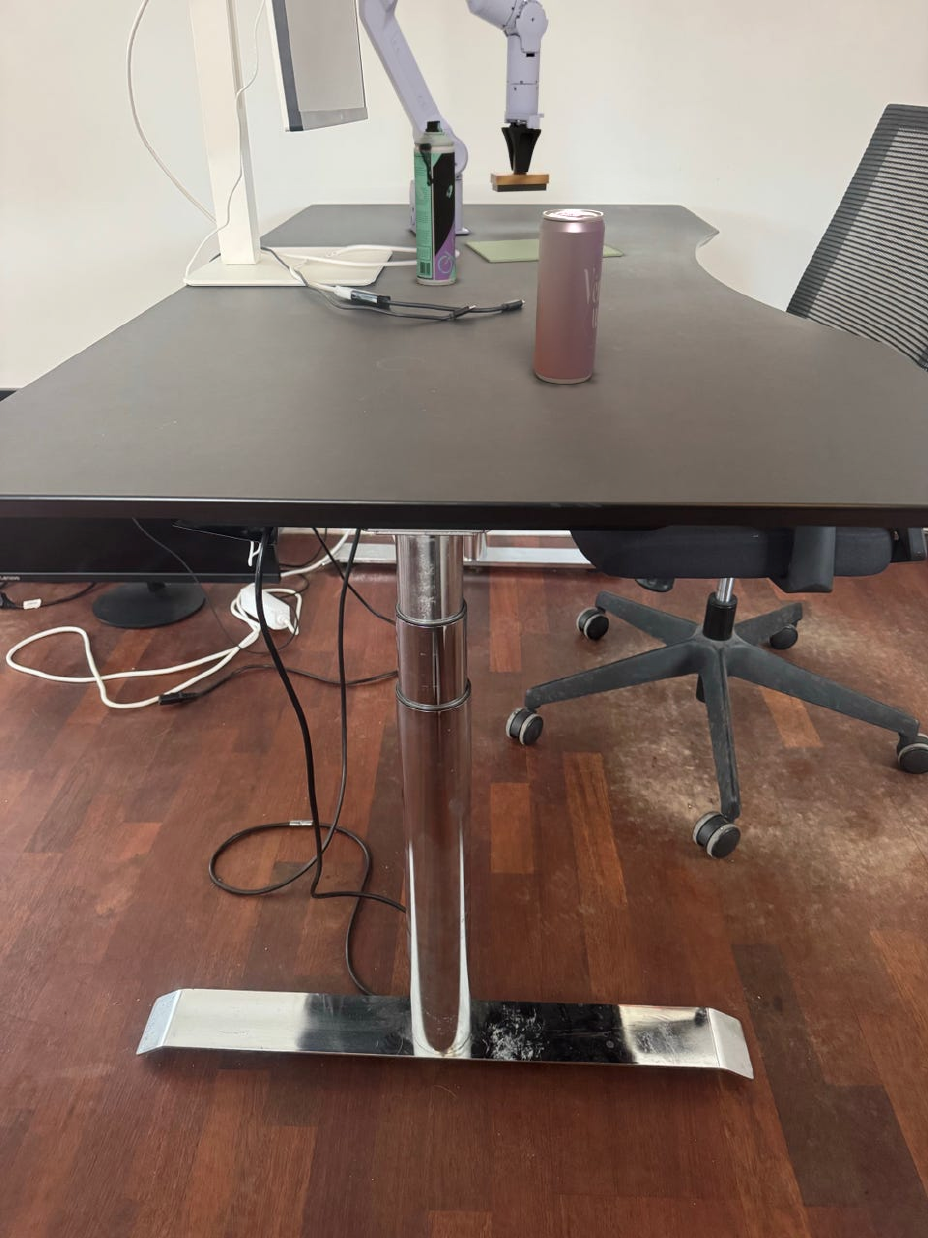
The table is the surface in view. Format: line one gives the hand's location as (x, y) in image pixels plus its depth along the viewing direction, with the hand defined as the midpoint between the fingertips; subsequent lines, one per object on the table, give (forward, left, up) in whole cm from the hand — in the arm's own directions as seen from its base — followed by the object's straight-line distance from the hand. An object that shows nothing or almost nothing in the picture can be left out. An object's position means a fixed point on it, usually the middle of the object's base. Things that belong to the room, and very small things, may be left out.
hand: (519, 171), depth 159 cm
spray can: (-25, -42, -10) cm, 50 cm away
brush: (0, 0, -3) cm, 3 cm away
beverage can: (-22, -88, -10) cm, 91 cm away
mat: (-3, -23, -9) cm, 25 cm away
